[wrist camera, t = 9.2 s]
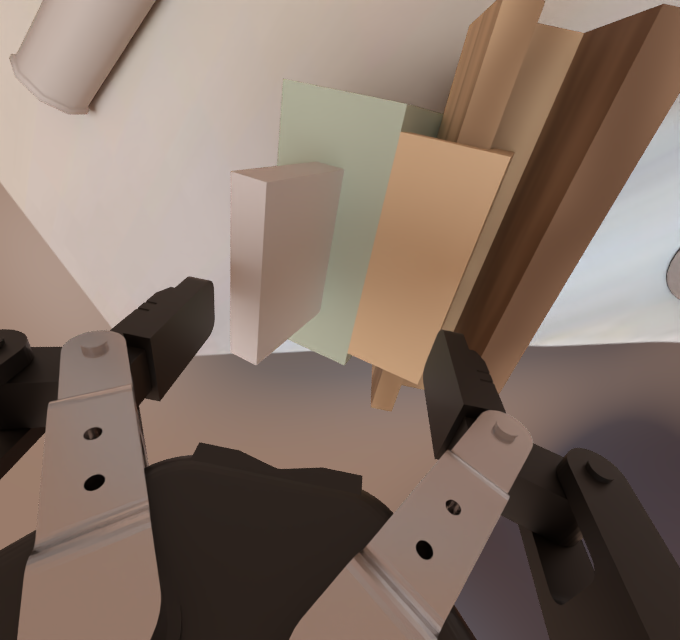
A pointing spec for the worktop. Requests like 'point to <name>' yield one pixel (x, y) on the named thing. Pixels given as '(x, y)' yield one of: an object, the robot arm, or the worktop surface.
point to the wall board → (546, 159)
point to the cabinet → (356, 230)
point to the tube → (75, 48)
